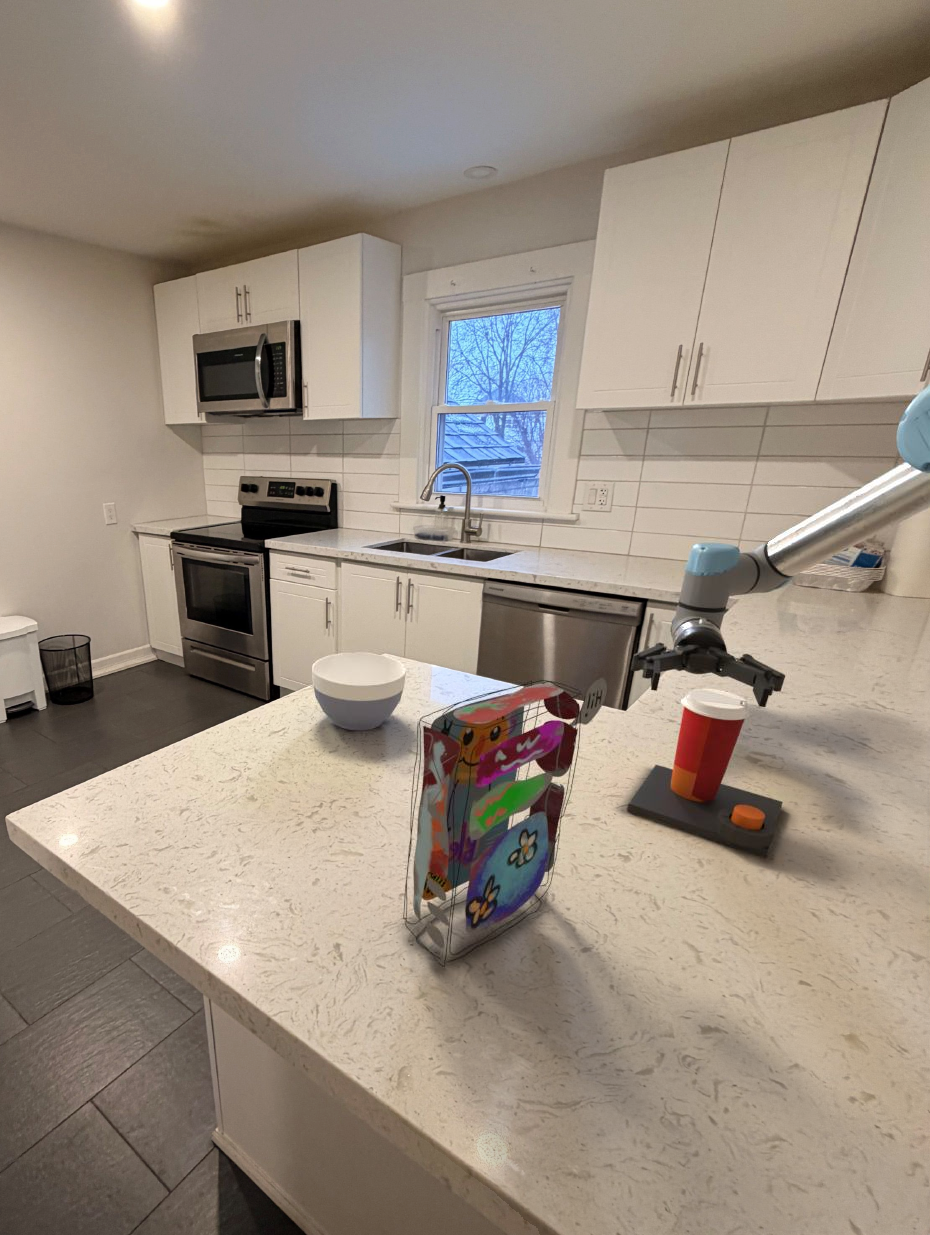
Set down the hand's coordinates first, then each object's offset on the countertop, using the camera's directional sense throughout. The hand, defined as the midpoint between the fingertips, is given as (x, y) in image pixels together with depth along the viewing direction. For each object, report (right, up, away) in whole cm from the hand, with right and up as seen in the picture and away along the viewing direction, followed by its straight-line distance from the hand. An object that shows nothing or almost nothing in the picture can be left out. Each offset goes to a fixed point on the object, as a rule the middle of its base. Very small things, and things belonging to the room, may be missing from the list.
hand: (708, 689), depth 91 cm
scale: (-3, -16, -4) cm, 17 cm away
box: (-35, -23, -21) cm, 47 cm away
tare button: (-3, -17, -12) cm, 21 cm away
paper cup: (-4, -14, -2) cm, 15 cm away
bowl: (-49, -5, +21) cm, 54 cm away
